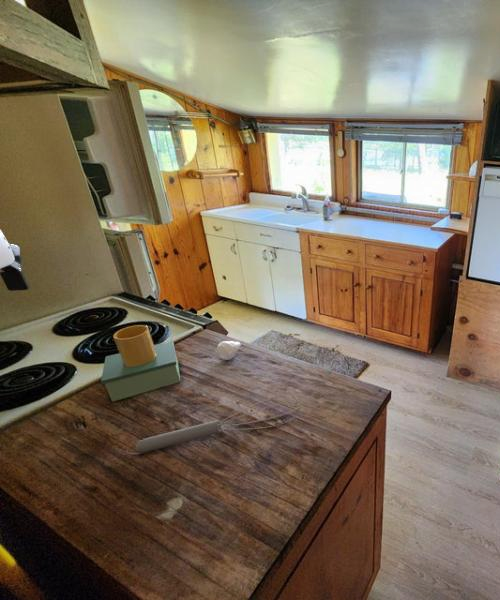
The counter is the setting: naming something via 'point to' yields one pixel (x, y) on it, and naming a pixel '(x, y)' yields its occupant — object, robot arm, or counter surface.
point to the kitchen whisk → (197, 431)
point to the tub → (140, 373)
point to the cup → (135, 345)
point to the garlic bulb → (228, 349)
